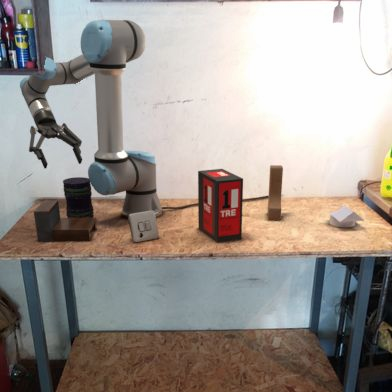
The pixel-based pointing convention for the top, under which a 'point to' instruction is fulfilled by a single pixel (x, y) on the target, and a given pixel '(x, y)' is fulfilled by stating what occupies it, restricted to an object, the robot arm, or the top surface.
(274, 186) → the wooden block
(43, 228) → the l-shaped metal base
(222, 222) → the cleaning product box
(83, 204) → the blue oil drum
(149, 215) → the electrical switch
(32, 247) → the top surface
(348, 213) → the wedge on round base
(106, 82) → the robot arm
